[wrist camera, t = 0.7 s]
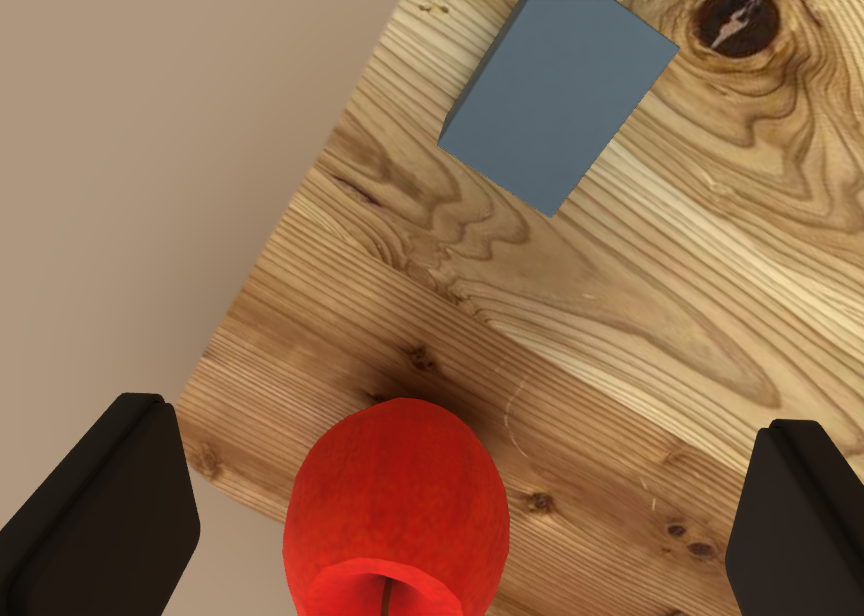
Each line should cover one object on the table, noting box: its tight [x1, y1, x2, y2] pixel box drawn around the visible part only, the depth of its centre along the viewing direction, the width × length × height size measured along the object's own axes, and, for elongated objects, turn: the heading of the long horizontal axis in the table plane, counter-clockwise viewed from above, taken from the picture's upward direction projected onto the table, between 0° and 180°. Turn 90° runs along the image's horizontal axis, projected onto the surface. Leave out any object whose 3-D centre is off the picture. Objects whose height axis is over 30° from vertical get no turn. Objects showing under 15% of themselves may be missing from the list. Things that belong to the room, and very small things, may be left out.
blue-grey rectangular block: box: [437, 0, 680, 218], centre depth 25 cm, size 7×5×4 cm
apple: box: [283, 397, 510, 616], centre depth 30 cm, size 10×10×12 cm
